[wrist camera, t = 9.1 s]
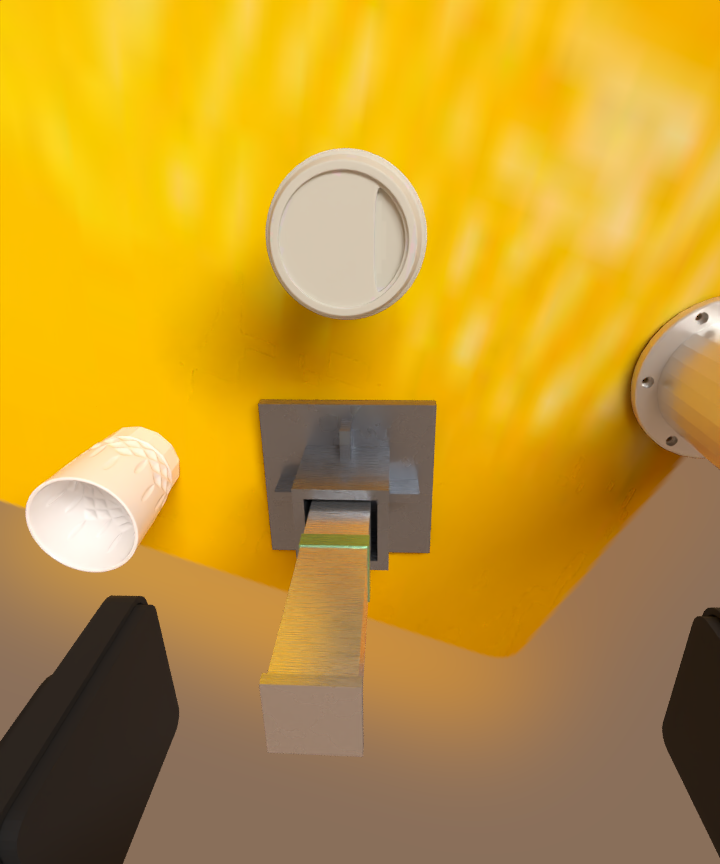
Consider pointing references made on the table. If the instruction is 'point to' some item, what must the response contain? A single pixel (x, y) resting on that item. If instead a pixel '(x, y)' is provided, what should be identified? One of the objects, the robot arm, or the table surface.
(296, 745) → the post
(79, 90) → the table surface
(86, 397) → the table surface
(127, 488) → the white cup
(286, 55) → the table surface
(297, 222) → the coffee cup
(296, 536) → the stand base
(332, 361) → the table surface
